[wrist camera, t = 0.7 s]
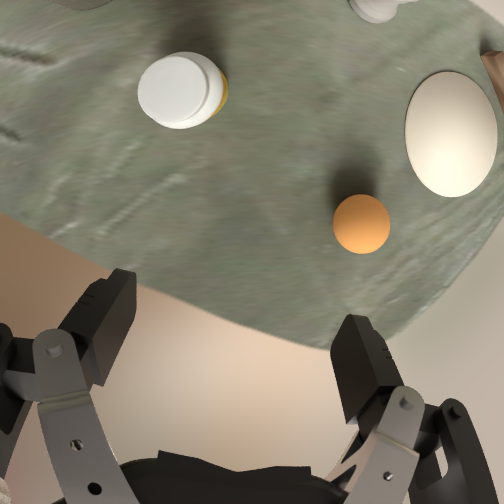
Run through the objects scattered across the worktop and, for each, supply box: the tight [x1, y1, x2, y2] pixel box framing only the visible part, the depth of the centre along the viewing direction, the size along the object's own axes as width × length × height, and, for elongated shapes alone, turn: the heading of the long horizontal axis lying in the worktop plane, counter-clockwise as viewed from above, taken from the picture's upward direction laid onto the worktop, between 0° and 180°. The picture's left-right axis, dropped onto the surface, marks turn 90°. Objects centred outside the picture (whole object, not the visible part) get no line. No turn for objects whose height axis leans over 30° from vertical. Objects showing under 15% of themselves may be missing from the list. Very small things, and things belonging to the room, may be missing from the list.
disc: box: [405, 72, 497, 197], centre depth 23 cm, size 14×14×1 cm
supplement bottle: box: [138, 52, 229, 129], centre depth 18 cm, size 5×5×10 cm
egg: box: [333, 194, 390, 254], centre depth 25 cm, size 5×5×5 cm
